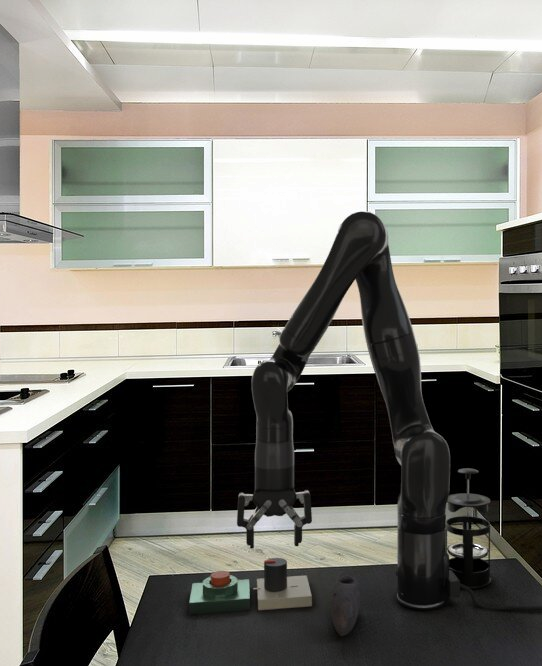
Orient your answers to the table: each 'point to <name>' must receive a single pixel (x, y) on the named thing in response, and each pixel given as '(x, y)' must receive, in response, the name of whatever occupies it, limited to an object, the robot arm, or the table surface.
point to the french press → (469, 539)
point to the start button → (220, 578)
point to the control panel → (285, 594)
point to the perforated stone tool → (345, 602)
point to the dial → (275, 574)
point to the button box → (219, 596)
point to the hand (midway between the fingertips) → (274, 546)
